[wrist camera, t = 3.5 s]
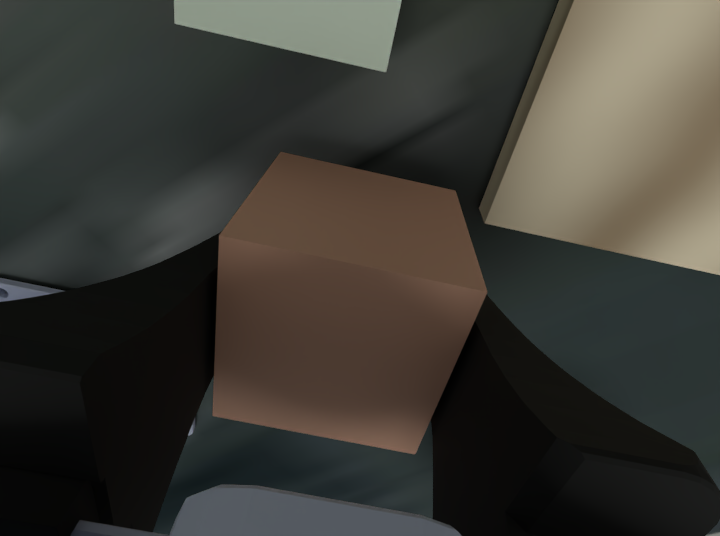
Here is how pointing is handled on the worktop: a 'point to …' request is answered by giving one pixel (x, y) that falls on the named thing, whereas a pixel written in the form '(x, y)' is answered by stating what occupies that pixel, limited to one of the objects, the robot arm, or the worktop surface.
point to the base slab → (619, 133)
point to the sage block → (303, 25)
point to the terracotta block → (342, 303)
